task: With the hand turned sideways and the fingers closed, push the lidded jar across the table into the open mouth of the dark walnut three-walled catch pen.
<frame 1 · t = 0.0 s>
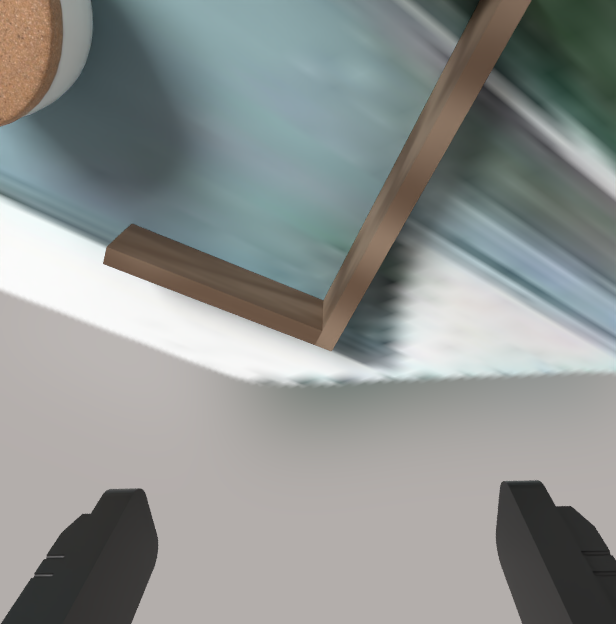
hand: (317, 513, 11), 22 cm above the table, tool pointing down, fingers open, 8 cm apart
catch pen: (285, 121, 27), on the table
lidded jar: (27, 1, 25), on the table
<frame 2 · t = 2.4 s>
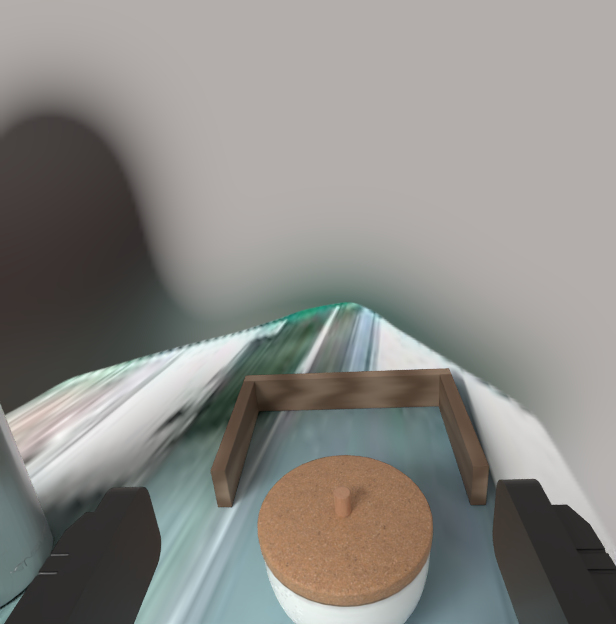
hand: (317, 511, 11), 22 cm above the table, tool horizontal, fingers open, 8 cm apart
catch pen: (347, 450, 46), on the table
lidded jar: (349, 599, 32), on the table
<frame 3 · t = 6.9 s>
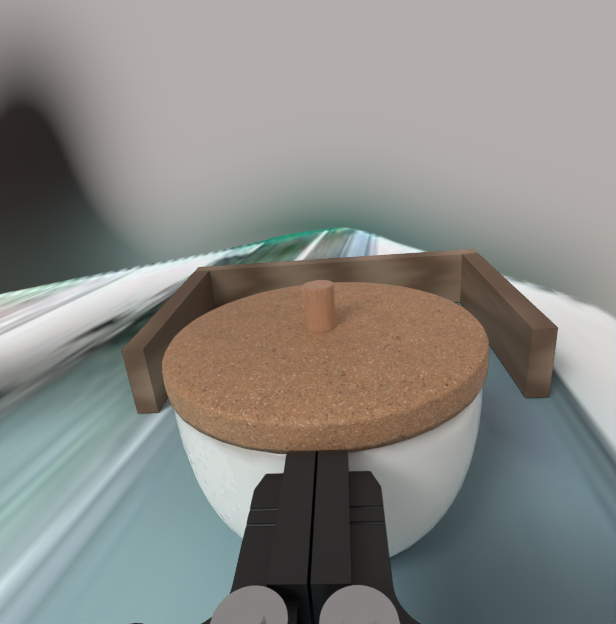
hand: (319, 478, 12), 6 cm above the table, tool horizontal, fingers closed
catch pen: (335, 347, 32), on the table
lidded jar: (336, 509, 19), on the table, touching gripper
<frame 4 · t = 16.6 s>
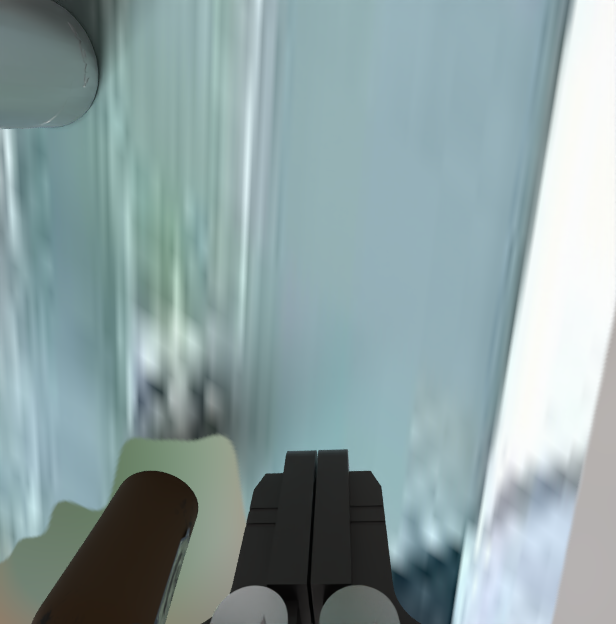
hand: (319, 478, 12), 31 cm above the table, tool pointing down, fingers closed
olive oil: (159, 500, 54), on the table
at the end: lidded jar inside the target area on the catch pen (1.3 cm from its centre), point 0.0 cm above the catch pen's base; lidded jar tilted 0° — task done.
